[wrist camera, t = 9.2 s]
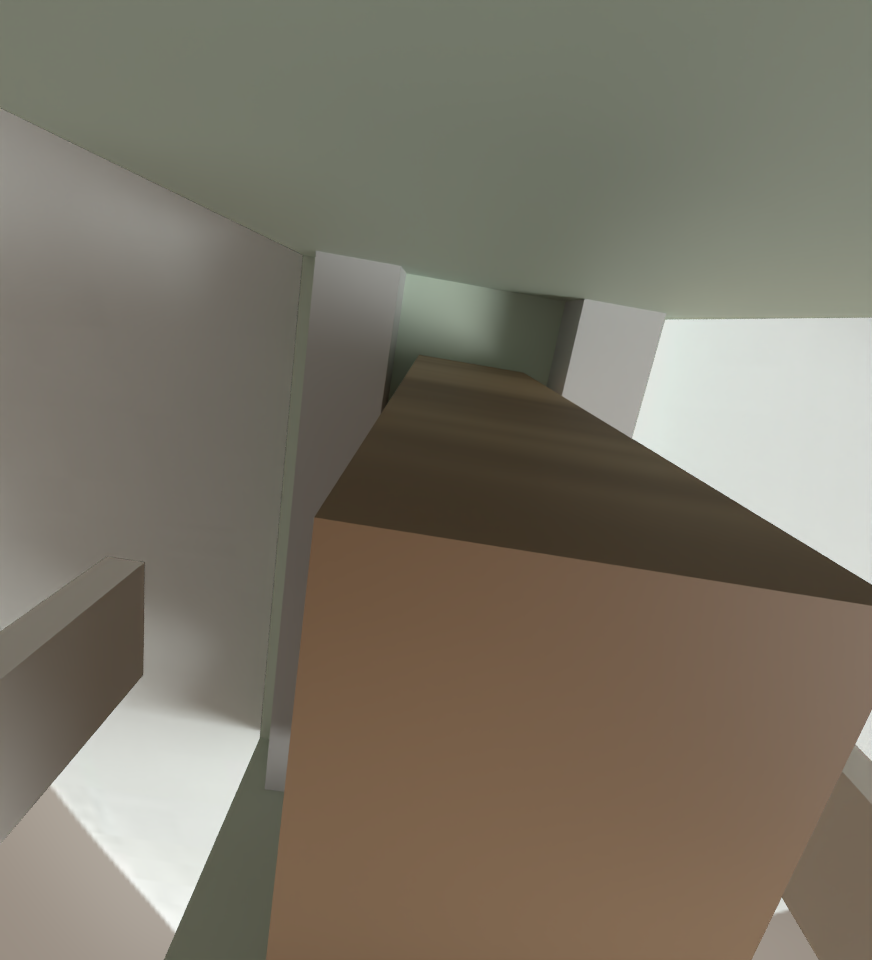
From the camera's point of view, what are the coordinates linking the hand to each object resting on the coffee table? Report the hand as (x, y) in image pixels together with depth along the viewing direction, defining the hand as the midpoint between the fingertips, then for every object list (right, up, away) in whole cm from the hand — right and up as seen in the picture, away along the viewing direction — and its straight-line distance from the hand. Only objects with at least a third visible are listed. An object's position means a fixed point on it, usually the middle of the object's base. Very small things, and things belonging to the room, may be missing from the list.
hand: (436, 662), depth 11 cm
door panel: (0, +2, +5) cm, 6 cm away
